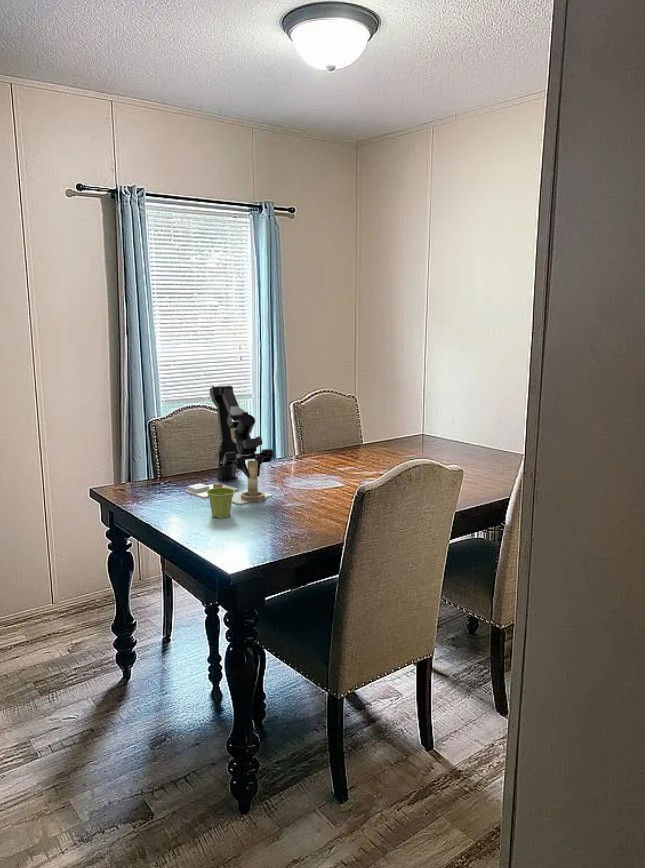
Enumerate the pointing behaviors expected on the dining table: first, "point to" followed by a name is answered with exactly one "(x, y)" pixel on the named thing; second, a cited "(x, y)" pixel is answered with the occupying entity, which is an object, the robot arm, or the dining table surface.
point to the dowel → (252, 477)
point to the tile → (204, 494)
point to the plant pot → (220, 501)
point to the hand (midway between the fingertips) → (253, 476)
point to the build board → (238, 497)
